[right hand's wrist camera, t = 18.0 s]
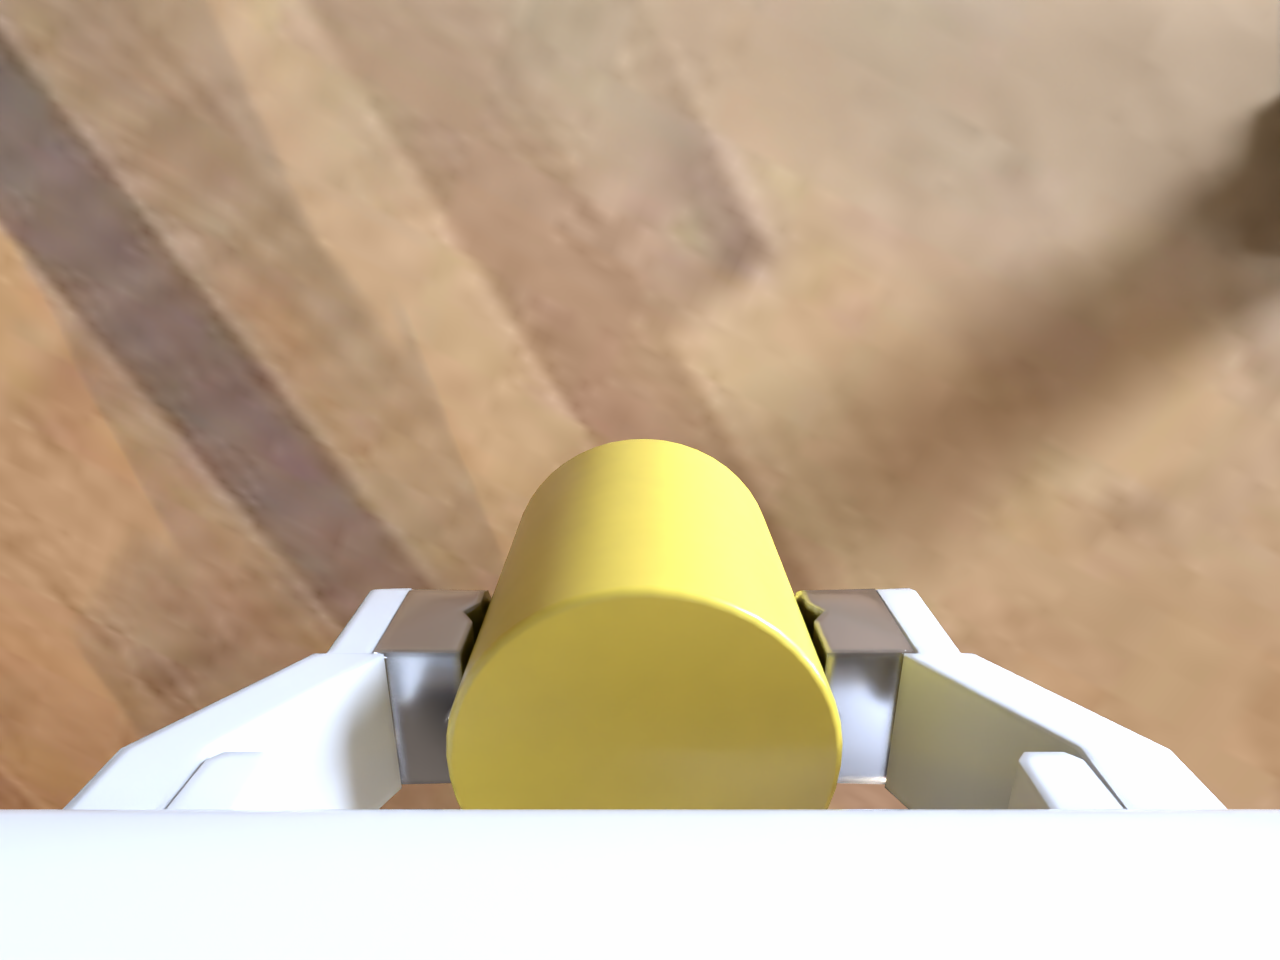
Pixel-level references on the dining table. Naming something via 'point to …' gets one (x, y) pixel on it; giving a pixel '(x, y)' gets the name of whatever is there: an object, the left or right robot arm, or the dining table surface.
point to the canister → (643, 651)
